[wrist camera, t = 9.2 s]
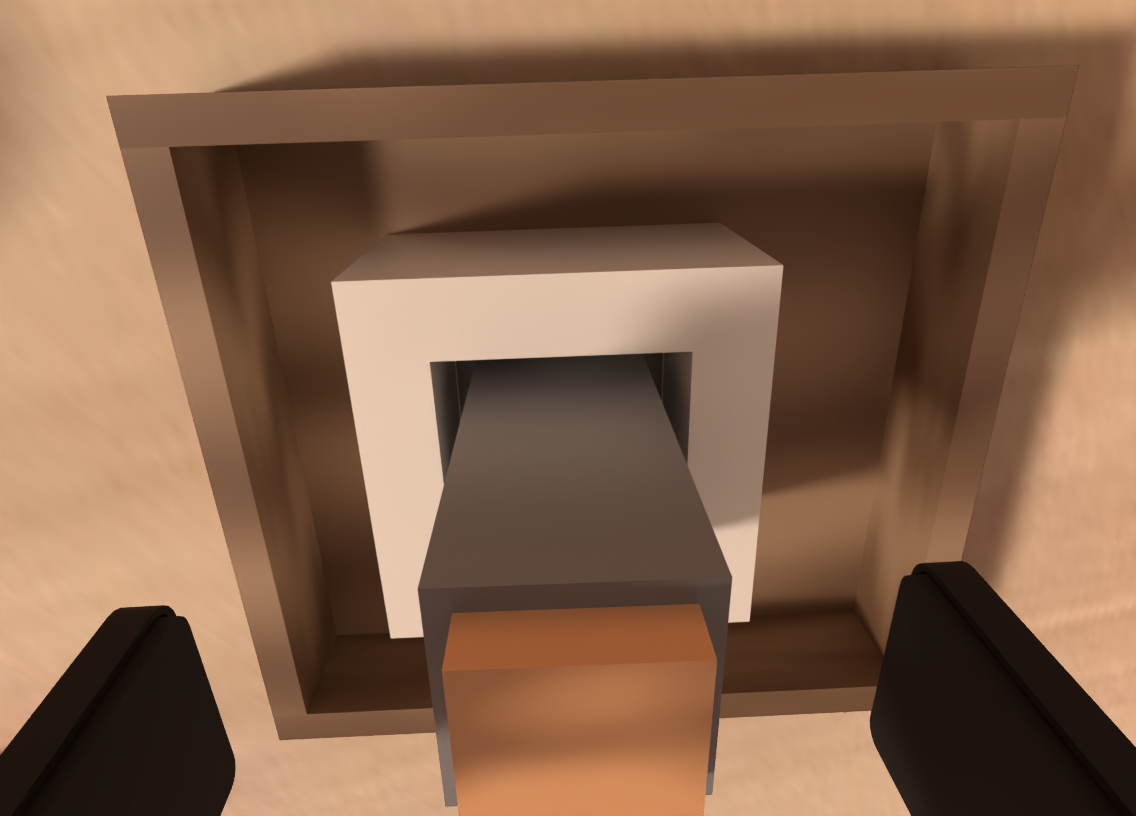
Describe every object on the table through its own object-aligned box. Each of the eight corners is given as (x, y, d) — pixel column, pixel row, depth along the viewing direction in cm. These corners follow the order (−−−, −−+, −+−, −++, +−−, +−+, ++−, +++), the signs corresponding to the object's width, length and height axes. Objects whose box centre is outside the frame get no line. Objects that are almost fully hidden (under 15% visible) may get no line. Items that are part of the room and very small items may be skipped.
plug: (480, 341, 18) (403, 645, 8) (635, 336, 18) (754, 632, 8) (490, 477, 20) (435, 874, 10) (632, 472, 20) (728, 861, 10)
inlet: (386, 234, 19) (331, 281, 14) (720, 222, 19) (783, 265, 14) (424, 519, 22) (390, 638, 17) (704, 507, 23) (749, 621, 18)
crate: (195, 97, 18) (105, 96, 14) (971, 72, 18) (1078, 65, 15) (318, 646, 25) (279, 740, 21) (870, 620, 25) (925, 707, 22)
